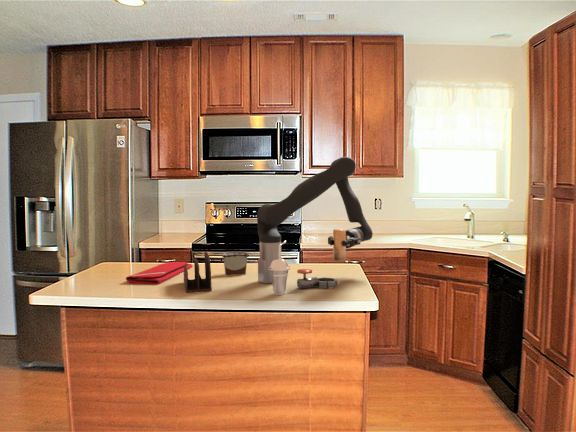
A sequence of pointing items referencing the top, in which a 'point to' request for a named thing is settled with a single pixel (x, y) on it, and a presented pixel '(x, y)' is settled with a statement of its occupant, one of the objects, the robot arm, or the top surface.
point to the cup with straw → (279, 274)
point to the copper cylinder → (339, 244)
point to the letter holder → (199, 277)
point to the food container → (235, 263)
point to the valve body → (314, 281)
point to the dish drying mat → (158, 273)
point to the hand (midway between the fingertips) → (337, 243)
